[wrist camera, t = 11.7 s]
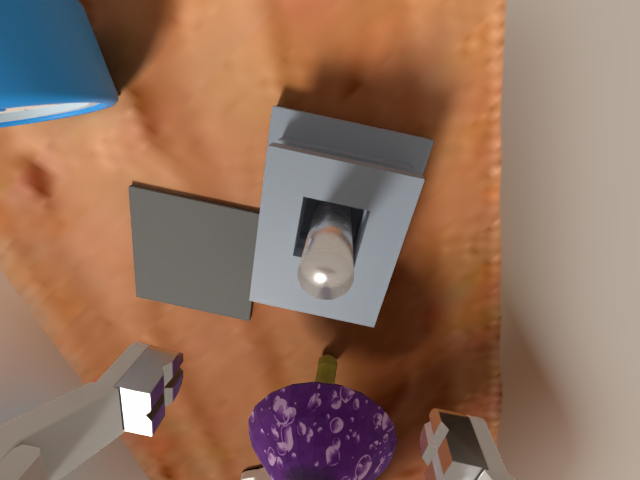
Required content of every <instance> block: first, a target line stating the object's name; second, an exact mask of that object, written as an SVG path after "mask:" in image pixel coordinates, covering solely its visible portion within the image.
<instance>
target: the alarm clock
mask: <svg viewBox="0 0 640 480" xmlns="http://www.w3.org/2000/svg"><path fill="white" fill-rule="evenodd" d="M119 95H120V94H119V92H117V91H116V88H115V86H114V83H113V81H112V78H111V76H110V73H109V71H108V68H107V65H106V63H105V60H104V58H103V55H102V53H101V50H100V47H99V45H98V42H97V40H96V37H95V35H94V32H93V30H92V27H91V24H90V22H89V19H88V17H87V14H86V12H85V9H84V8H83V6H82V4H81V3H80V2H79V1H78V0H0V128H1V127H8V126H16V125H23V124H30V123H36V122H43V121H49V120H55V119H60V118H66V117H71V116H77V115H81V114H86V113H91V112H95V111H99V110H102V109H105V108H108V107H111V106H113V105H115V104H116V102H117V101H118V96H119Z"/></svg>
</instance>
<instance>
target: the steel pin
mask: <svg viewBox="0 0 640 480" xmlns="http://www.w3.org/2000/svg"><path fill="white" fill-rule="evenodd" d="M297 275H298V281H299V284H300V286H301V287H302V289H303V290H304V291H305V292H306V293H308V294H309V295H310V296H312V297H315V298H317V299H322V300H332V299H336V298H339V297H341V296H343V295H344V294H346V293H347V292H348V291H349V289H350V288H351V286H352V284H353V281H354V262H353V243H352V224H351V210H350V207H349V206H345V205H340V204H335V203H331V202H326V201H320V202H319V203H318V204H317V206H316V208H315V211H314V215H313V218H312V222H311V225H310V229H309V232H308V236H307V239H306V243H305V247H304V250H303V254H302V257H301V261H300V264H299V268H298V273H297Z"/></svg>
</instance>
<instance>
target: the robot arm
mask: <svg viewBox="0 0 640 480" xmlns="http://www.w3.org/2000/svg"><path fill="white" fill-rule="evenodd" d="M182 362H183V353H180V352H177V351H172V350H168V349H164V348H160V347H156V346H152V345H148V344H144V343H139V342H134V343H132V344H131V345H129V347H128V348H127V349H126V350H125V351H124V352H123V353H122V354H121V355H120V356H119V357H118V359H117V360H116V361H115V362H114V363H113V364H112V365H111V366H110V367H109V368H108V369H107V371H106V372H105V373H104V374H103V375H102V376H101V377H100V378H99V379H98V380H97V381H96V383H92V382H89V383H87V384H85V385H83V386H81V387H79V388H77V389H74V390H72V391H70V392H68V393H66V394H64V395H62V396H60V397H58V398H56V399H53V400H52V401H49V402H47V403H45V404H43V405H41V406H39V407H37V408H34V409H32V410H30V411H28V412H26V413H24V414H22V415H20V416H18V417H15V418H13V419H11V420H9V421H7V422H5V423H3V424H1V425H0V480H59V479H61V478H62V477H64V476H65V475H66V474H68V473H69V472H70V471H72V470H73V469H75V468H76V467H77V466H79V465H80V464H81V463H83V462H84V461H86V460H87V459H88V458H90V457H91V456H92V455H94V454H95V453H96V452H98V451H99V450H101V449H102V448H103V447H105V446H106V445H107V444H109V443H110V442H112V441H113V440H114V439H116V438H117V437H118V436H120V435H121V434H123V431H126V432H132V433H137V434H142V435H147V436H153V434H154V433H155V431H156V429H157V428H158V426H159V424H160V423H161V421H162V419H163V418H164V416H165V407H166V406H167V405H169V404H171V403H172V402H173V401H174V399H175V397H176V396H177V394H178V392H179V389H180V386H181V384H182V379H183V370H182V369H181V368H180V365H181V364H182ZM429 418H430V422H428V423H426V424H424V426H423V428H422V430H421V435H420V451H421V456H422V458H423V460H424V461H425V463H426V464H427V465H428V468H427V470H426V472H425V477H426V480H516V478H515V477H514V476H512V475H508V473H507V471H506V469H505V466H504V464H503V461H502V459H501V457H500V454H499V452H498V450H497V447H496V445H495V442H494V440H493V438H492V435H491V433H490V431H489V428H488V426H487V424H486V422H485V420H484V419H483V418H479V417H475V416H470V415H465V414H462V413H457V412H452V411H447V410H442V409H438V408H434V409H432V410H431V412H430V414H429ZM240 480H271V478H270V476H269V474H268V473H267V471H266V469H265V468H264V467H262V468H260V469H255V470H249V471H245V472H243V473H242V474H241V479H240Z"/></svg>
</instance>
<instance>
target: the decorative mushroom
mask: <svg viewBox="0 0 640 480" xmlns="http://www.w3.org/2000/svg"><path fill="white" fill-rule="evenodd" d="M336 369H337V360H336V359H335V357H333V356H332V355H329V354H326V355H323V356H322V357H321V358H320V359H319V362H318V370H317V375H316V380H315V382H309V383H299V384H292V385H290V386H287V387H284V388H282V389H279V390H277V391H274V392H272V393H270V394H269V395H268V396H267V397H265V398H264V399H263V400H262V401H261V402H259V403H258V404H257V405H256V406H255V408H254V410H253V412H252V414H251V416H250V418H249V437H250V440H251V444H252V447H253V449H254V451H255V453H256V455H257V456H258V458H259V460H260V462H261V463H262V465H263V466H264V468H265V469H266V471H267V473H268V474H269V476H270V478H271V480H375V479H376V478H377V477H379V476H380V475H381V473H382V472H383V471H384V470H385V469H386V468H387V467H388V465H389V463H390V461H391V460H392V458H393V455H394V452H395V448H396V445H397V437H396V432H395V427H394V424H393V422H392V421H391V419H390V418H389V416H388V415H387V413H386V412H385V411H384V409H383V408H382V407H381V406H379V405H378V404H377V403H375V402H374V401H372V400H371V399H370V398H368V397H367V396H365V395H364V394H362V393H361V392H358V391H355V390H352V389H350V388H347V387H344V386H342V385H338V384H334V382H335V375H336Z"/></svg>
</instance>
